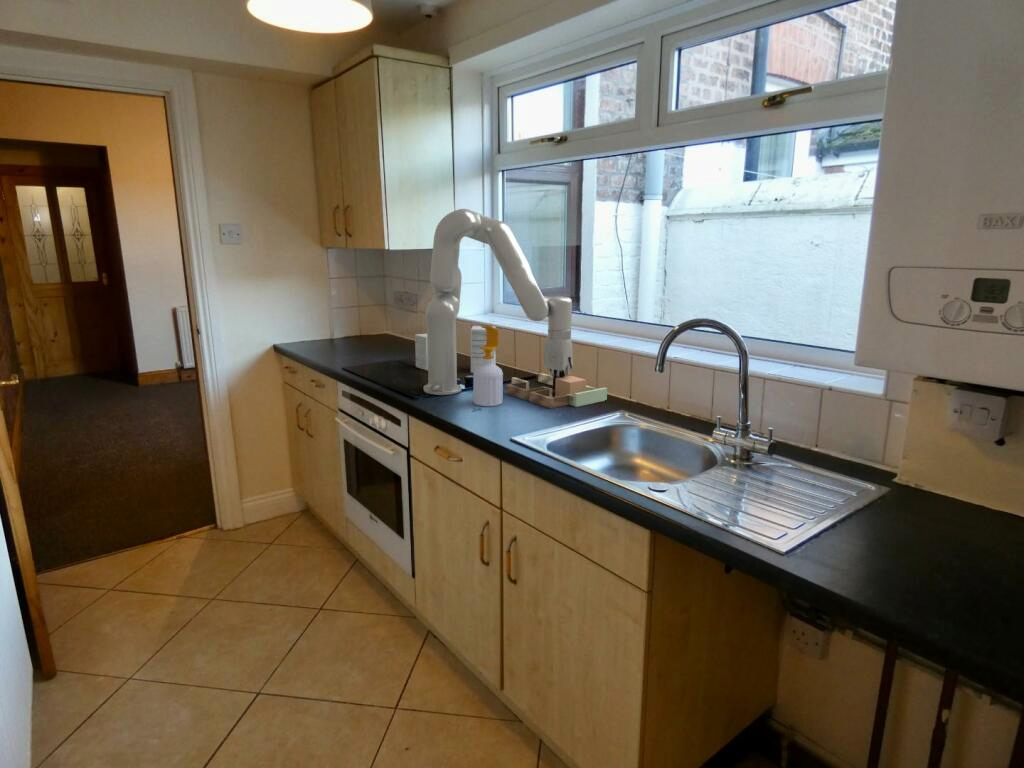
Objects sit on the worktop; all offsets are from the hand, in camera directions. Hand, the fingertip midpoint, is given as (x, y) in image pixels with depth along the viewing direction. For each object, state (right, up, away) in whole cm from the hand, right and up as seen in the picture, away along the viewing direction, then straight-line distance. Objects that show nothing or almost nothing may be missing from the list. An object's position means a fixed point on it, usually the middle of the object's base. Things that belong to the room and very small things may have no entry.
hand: (557, 388), depth 209 cm
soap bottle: (-23, -4, -13) cm, 27 cm away
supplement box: (-26, +7, +32) cm, 42 cm away
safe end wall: (+9, -4, -12) cm, 16 cm away
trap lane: (-4, -2, -1) cm, 4 cm away
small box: (-48, +8, +36) cm, 61 cm away
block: (+4, -3, -5) cm, 6 cm away
